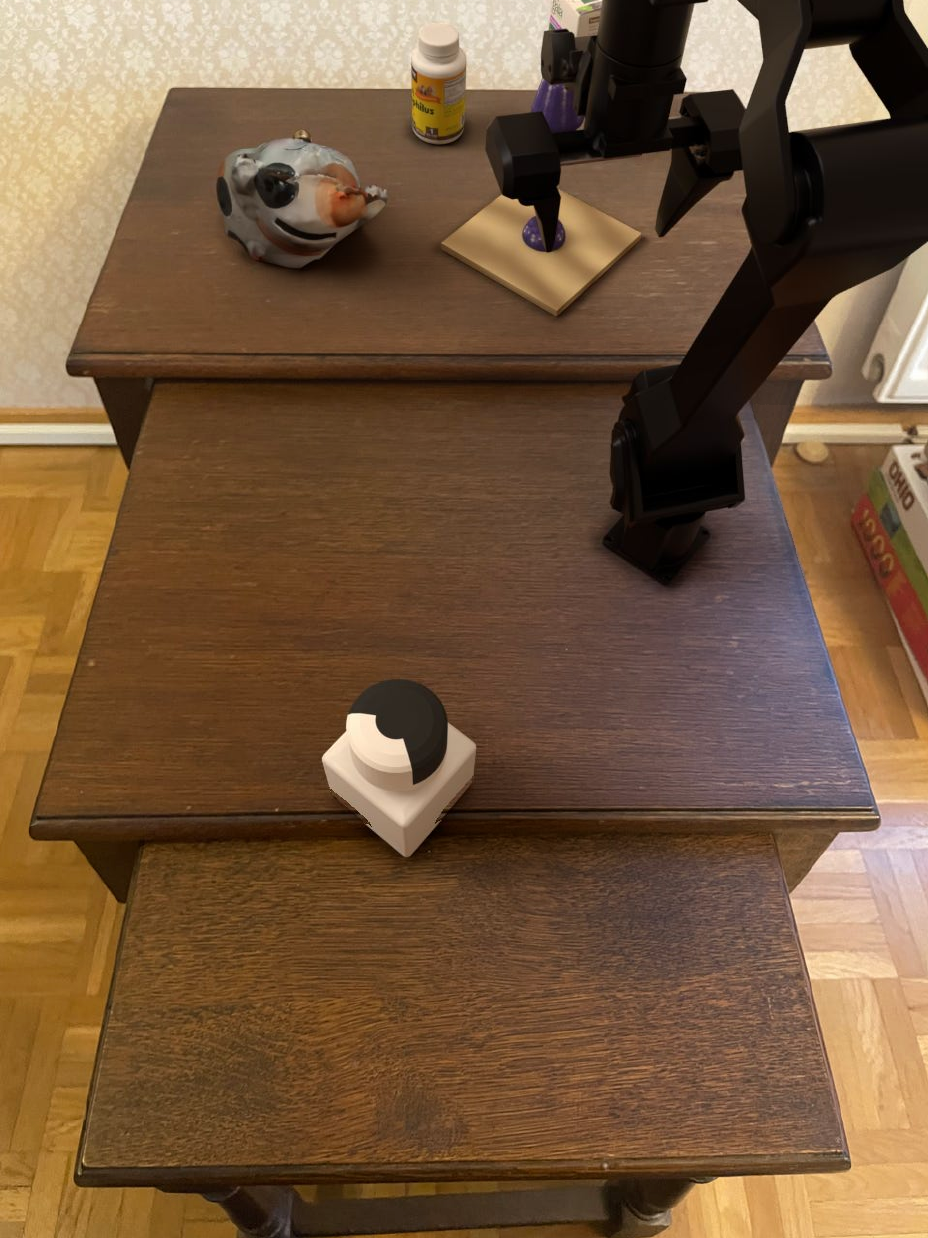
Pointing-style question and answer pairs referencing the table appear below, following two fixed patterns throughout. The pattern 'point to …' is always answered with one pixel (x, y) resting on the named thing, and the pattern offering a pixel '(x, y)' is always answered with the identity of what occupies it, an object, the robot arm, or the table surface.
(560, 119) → the toy lamp
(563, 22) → the syrup box
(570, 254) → the mat
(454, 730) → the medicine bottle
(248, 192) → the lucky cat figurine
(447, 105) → the supplement bottle
